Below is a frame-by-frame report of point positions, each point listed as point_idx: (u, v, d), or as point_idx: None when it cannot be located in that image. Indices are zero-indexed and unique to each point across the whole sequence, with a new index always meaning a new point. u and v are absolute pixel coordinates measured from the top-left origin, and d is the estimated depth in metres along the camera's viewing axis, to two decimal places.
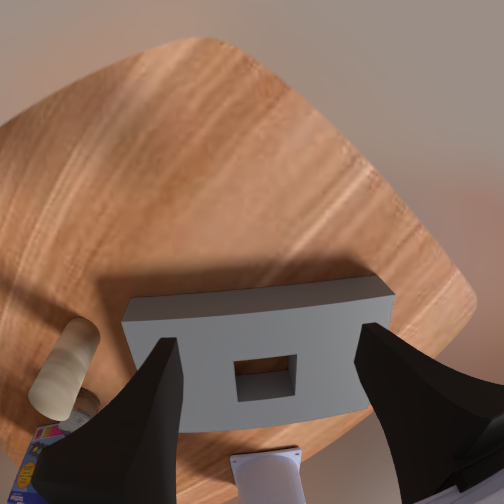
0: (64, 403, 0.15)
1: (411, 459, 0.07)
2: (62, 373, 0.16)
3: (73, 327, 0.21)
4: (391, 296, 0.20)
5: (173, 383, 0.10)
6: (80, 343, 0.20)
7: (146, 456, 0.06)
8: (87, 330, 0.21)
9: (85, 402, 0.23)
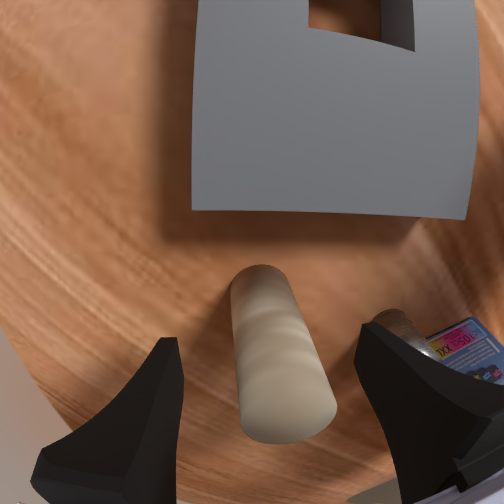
0: (283, 387, 0.08)
1: (411, 459, 0.07)
2: (247, 357, 0.10)
3: (231, 303, 0.15)
4: None
5: (173, 383, 0.10)
6: (243, 301, 0.13)
7: (146, 456, 0.06)
8: (242, 282, 0.15)
9: None
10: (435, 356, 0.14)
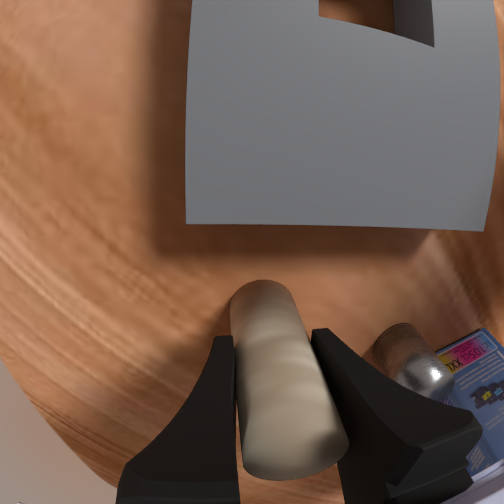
0: (290, 429, 0.07)
1: (352, 476, 0.07)
2: (250, 391, 0.09)
3: (230, 322, 0.13)
4: None
5: (234, 381, 0.10)
6: (244, 322, 0.12)
7: None
8: (243, 299, 0.13)
9: (395, 349, 0.15)
10: (447, 375, 0.12)
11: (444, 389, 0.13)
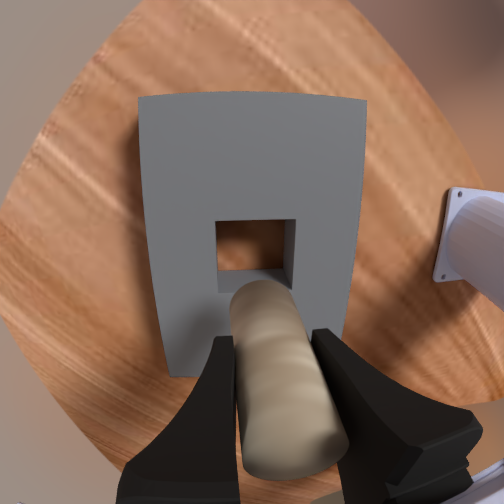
0: (290, 429, 0.07)
1: (353, 476, 0.07)
2: (250, 391, 0.09)
3: (230, 322, 0.13)
4: (140, 102, 0.14)
5: (234, 381, 0.10)
6: (244, 322, 0.12)
7: None
8: (243, 299, 0.13)
9: None
10: None
11: None
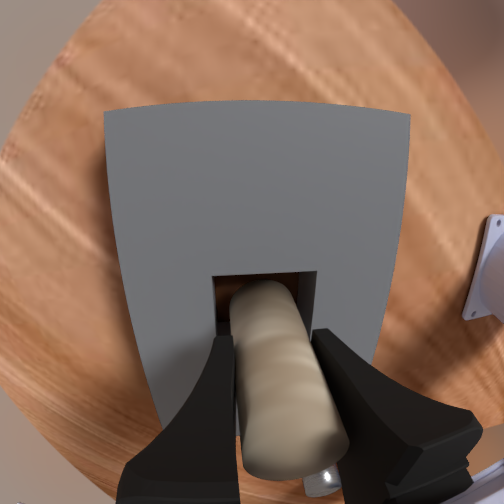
0: (290, 429, 0.07)
1: (352, 476, 0.07)
2: (250, 390, 0.09)
3: (230, 322, 0.13)
4: (106, 118, 0.10)
5: (234, 381, 0.10)
6: (244, 322, 0.12)
7: None
8: (243, 299, 0.13)
9: None
10: (332, 482, 0.19)
11: (334, 486, 0.20)
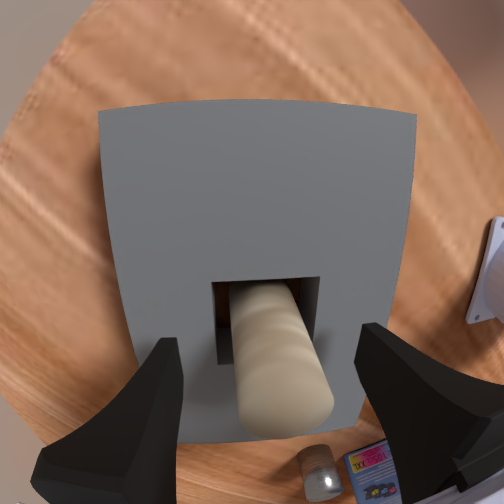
0: (280, 381, 0.08)
1: (411, 459, 0.07)
2: (246, 353, 0.10)
3: (229, 301, 0.15)
4: (101, 118, 0.10)
5: (173, 383, 0.10)
6: (242, 298, 0.13)
7: (146, 456, 0.06)
8: None
9: (306, 464, 0.21)
10: (333, 487, 0.19)
11: (335, 491, 0.19)
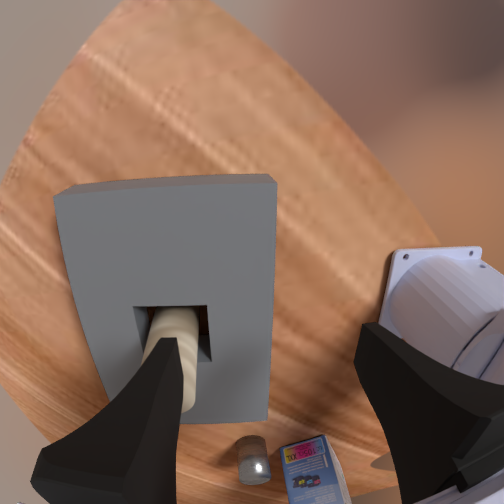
0: None
1: (411, 459, 0.07)
2: (145, 356, 0.15)
3: None
4: (55, 201, 0.15)
5: (173, 383, 0.10)
6: (156, 317, 0.18)
7: (146, 456, 0.06)
8: None
9: (240, 451, 0.27)
10: (260, 472, 0.24)
11: (264, 476, 0.24)
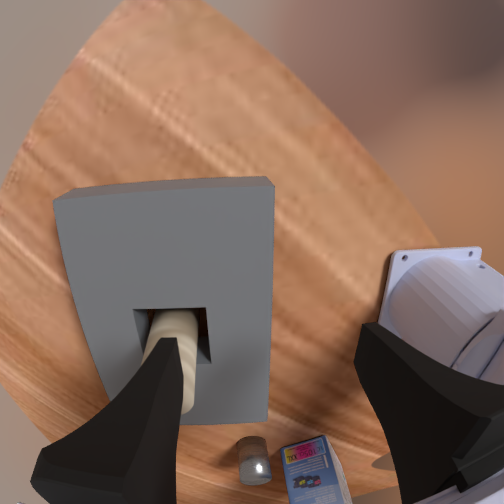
0: None
1: (411, 459, 0.07)
2: (144, 358, 0.16)
3: None
4: (54, 205, 0.15)
5: (173, 383, 0.10)
6: (155, 320, 0.19)
7: (146, 456, 0.06)
8: None
9: (241, 451, 0.27)
10: (261, 472, 0.24)
11: (264, 477, 0.24)
